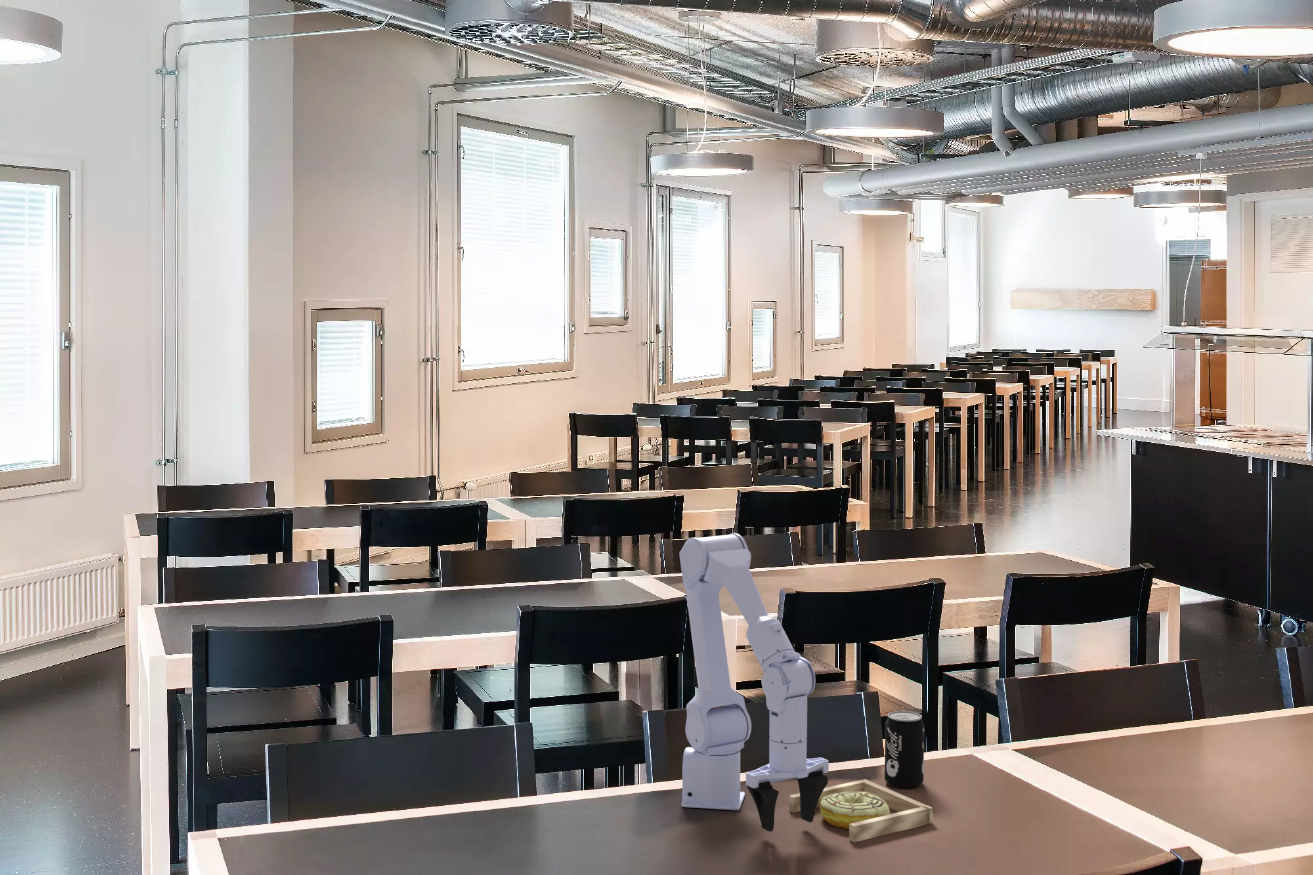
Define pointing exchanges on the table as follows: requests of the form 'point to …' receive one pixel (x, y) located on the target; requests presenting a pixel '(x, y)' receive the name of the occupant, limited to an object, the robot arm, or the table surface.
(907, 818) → the u-shaped wooden bracket
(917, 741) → the beverage can
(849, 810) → the decorated donut
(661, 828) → the table surface
